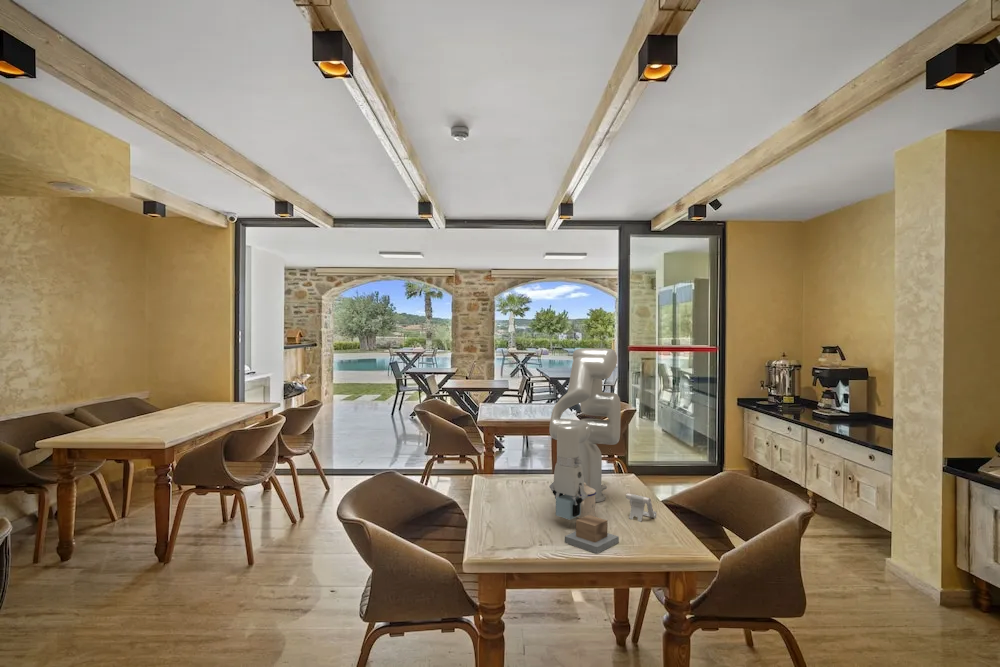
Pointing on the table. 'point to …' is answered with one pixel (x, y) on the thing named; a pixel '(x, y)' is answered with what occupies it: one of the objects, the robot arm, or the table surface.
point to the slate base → (592, 546)
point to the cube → (565, 507)
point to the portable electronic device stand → (640, 507)
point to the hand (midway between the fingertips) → (568, 512)
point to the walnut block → (591, 528)
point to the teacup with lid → (588, 502)
